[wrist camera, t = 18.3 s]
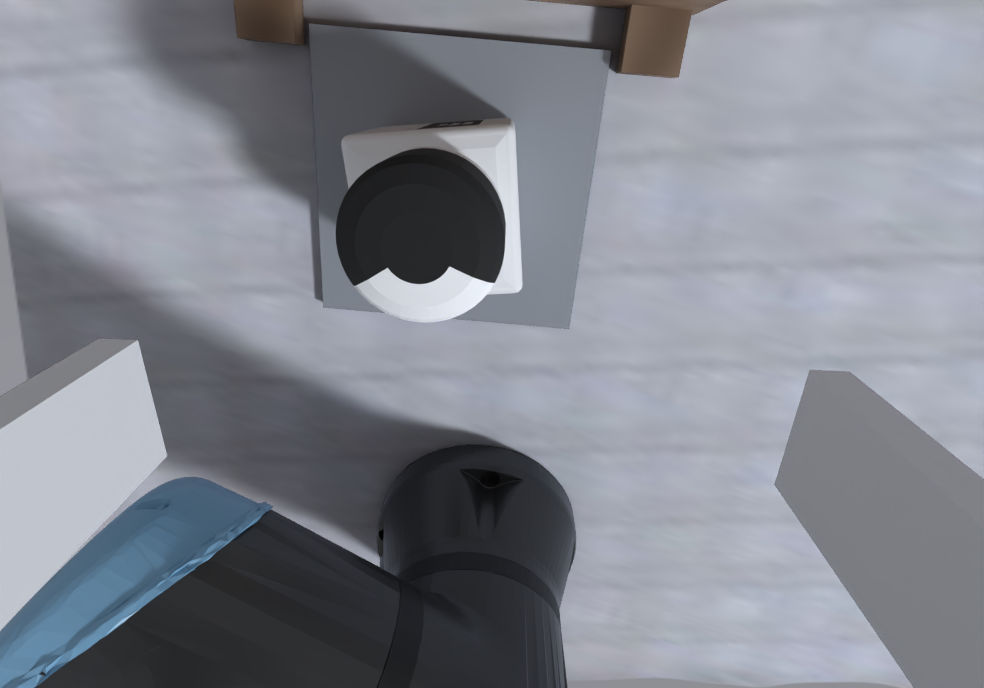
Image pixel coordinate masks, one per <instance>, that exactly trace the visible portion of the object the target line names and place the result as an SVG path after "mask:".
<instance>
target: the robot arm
mask: <svg viewBox="0 0 984 688" xmlns="http://www.w3.org/2000/svg"><path fill="white" fill-rule="evenodd" d="M166 457H167V453H166V449H165V445H164V441H163V437H162V433H161V429H160V425H159V421H158V417H157V414H156V410H155V406H154V402H153V398H152V394H151V390H150V386H149V382H148V378H147V374H146V370H145V366H144V362H143V358H142V354H141V350H140V346H139V343H138V340H125V339H103V338H99V339H97V340H96V341H94V342H92V343H90V344H89V345H87V346H85V347H84V348H82V349H80V350H78V351H77V352H75V353H73V354H72V355H70V356H68V357H66V358H65V359H63V360H61V361H60V362H58V363H56V364H54V365H53V366H51V367H49V368H48V369H46V370H44V371H42V372H41V373H39V374H37V375H36V376H34V377H32V378H30V379H29V380H27V381H25V382H24V383H22V384H20V385H19V386H17V387H15V388H13V389H12V390H10V391H8V392H7V393H5V394H3V395H1V396H0V630H1V629H2V628H3V627H4V626H5V625H6V626H5V627H4V628H3V629H2V630H1V631H0V688H567V679H566V670H565V661H564V651H563V642H562V634H561V624H560V612H559V609H560V605H561V601H562V597H563V593H564V589H565V585H566V581H567V577H568V573H569V571H570V568H571V566H572V563H573V560H574V556H575V550H576V531H575V523H574V516H573V511H572V507H571V503H570V501H569V498H568V496H567V494H566V492H565V491H564V489H563V487H562V486H561V485H560V483H559V482H558V481H557V480H556V479H555V477H554V476H553V475H552V474H551V473H550V472H548V471H547V470H546V469H545V468H543V467H542V466H541V465H539V464H538V463H536V462H534V461H533V460H531V459H529V458H527V457H525V456H523V455H521V454H518V453H515V452H513V451H509V450H506V449H502V448H497V447H491V446H481V445H466V446H457V447H451V448H446V449H443V450H439V451H436V452H433V453H431V454H428V455H426V456H424V457H422V458H420V459H418V460H417V461H415V462H414V463H412V464H411V465H410V466H408V467H407V468H406V469H405V470H404V471H402V472H401V473H400V475H399V476H398V477H397V478H396V479H395V480H394V482H393V483H392V485H391V487H390V488H389V490H388V492H387V495H386V497H385V500H384V504H383V507H382V510H381V513H380V517H379V521H378V527H377V546H378V552H379V556H380V567H378V566H376V565H374V564H372V563H371V562H369V561H367V560H365V559H363V558H361V557H359V556H357V555H356V554H354V553H352V552H350V551H348V550H346V549H344V548H342V547H341V546H339V545H337V544H335V543H333V542H331V541H329V540H327V539H325V538H324V537H322V536H320V535H318V534H316V533H314V532H312V531H310V530H309V529H307V528H305V527H303V526H301V525H299V524H297V523H295V522H294V521H292V520H290V519H288V518H286V517H284V516H282V515H280V514H279V513H277V512H275V511H273V510H271V509H272V507H273V506H271V505H269V504H267V503H266V502H263V503H257V502H255V501H252V500H250V499H248V498H246V497H244V496H242V495H239V494H237V493H235V492H233V491H231V490H229V489H226V488H224V487H222V486H220V485H218V484H216V483H214V482H211V481H209V480H206V479H203V478H198V477H184V478H179V479H174V480H171V481H168V482H166V483H164V484H162V485H160V486H158V487H157V488H155V489H153V490H151V491H150V492H148V493H147V494H145V495H144V496H143V497H141V498H140V499H139V500H137V501H136V502H135V503H133V504H132V505H131V506H130V507H128V508H127V509H126V510H125V511H123V512H122V513H121V514H120V515H119V516H118V517H116V518H115V519H114V520H113V521H112V522H111V523H110V524H108V525H107V526H106V527H105V528H104V529H103V530H102V531H101V532H99V533H98V534H97V535H96V536H95V537H94V538H93V539H92V540H91V541H89V542H88V543H87V544H86V545H85V546H84V547H83V548H82V549H81V550H80V551H79V552H78V553H77V554H76V555H75V556H74V557H73V558H72V559H71V560H70V561H68V562H67V563H66V564H65V565H64V566H63V567H62V568H61V569H60V570H59V571H58V572H57V570H58V569H59V568H60V567H61V566H62V565H63V564H64V563H65V562H66V561H67V560H68V559H69V558H70V557H71V556H72V555H73V554H74V553H75V552H76V551H77V550H78V549H79V548H80V546H81V545H82V544H83V543H84V542H85V541H86V540H87V539H88V538H89V537H90V536H91V535H92V534H93V533H94V532H95V531H96V530H97V529H98V528H99V527H100V526H101V525H102V524H103V523H104V521H105V520H106V519H107V518H108V517H109V516H110V515H111V514H112V513H113V512H114V511H115V510H116V509H117V508H118V507H119V506H120V505H121V504H122V503H123V502H124V501H125V500H126V499H127V497H128V496H129V495H130V494H131V493H132V492H133V491H134V490H135V489H136V488H137V487H138V486H139V485H140V484H141V483H142V482H143V481H144V480H145V479H146V478H147V477H148V476H149V475H150V473H151V472H152V471H153V470H154V469H155V468H156V467H157V466H158V465H159V464H160V463H161V462H162V461H163V460H164V459H165V458H166ZM774 485H775V486H776V488H777V489H778V490H779V492H780V493H781V495H782V496H783V498H784V499H785V501H786V502H787V504H788V505H789V507H790V508H791V509H792V511H793V512H794V514H795V515H796V517H797V518H798V520H799V521H800V523H801V524H802V525H803V527H804V528H805V530H806V531H807V533H808V534H809V536H810V537H811V539H812V540H813V541H814V543H815V544H816V546H817V547H818V549H819V550H820V552H821V553H822V555H823V556H824V558H825V559H826V560H827V562H828V563H829V565H830V566H831V568H832V569H833V571H834V572H835V574H836V575H837V576H838V578H839V579H840V581H841V582H842V584H843V585H844V587H845V588H846V590H847V591H848V592H849V594H850V595H851V597H852V598H853V600H854V601H855V603H856V604H857V606H858V607H859V609H860V610H861V611H862V613H863V614H864V616H865V617H866V619H867V620H868V622H869V623H870V625H871V626H872V627H873V629H874V630H875V632H876V633H877V635H878V636H879V638H880V639H881V641H882V642H883V643H884V645H885V646H886V648H887V649H888V651H889V652H890V654H891V655H892V657H893V658H894V659H895V661H896V662H897V664H898V665H899V667H900V668H901V670H902V671H903V673H904V674H905V676H906V677H907V678H908V680H909V681H910V683H911V684H912V686H913V687H914V688H984V479H983V478H982V477H980V476H979V475H978V474H977V473H975V472H974V471H973V470H972V469H970V468H969V467H968V466H967V465H965V464H964V463H963V462H962V461H960V460H959V459H958V458H957V457H955V456H954V455H953V454H952V453H950V452H949V451H948V450H947V449H945V448H944V447H943V446H942V445H940V444H939V443H938V442H937V441H935V440H934V439H933V438H932V437H930V436H929V435H928V434H927V433H925V432H924V431H923V430H922V429H920V428H919V427H918V426H917V425H915V424H914V423H913V422H912V421H910V420H909V419H908V418H907V417H906V416H904V415H903V414H902V413H901V412H899V411H898V410H897V409H896V408H894V407H893V406H892V405H891V404H889V403H888V402H887V401H886V400H884V399H883V398H882V397H881V396H879V395H878V394H877V393H876V392H874V391H873V390H872V389H871V388H869V387H868V386H867V385H866V384H864V383H863V382H862V381H861V380H859V379H858V378H857V377H856V376H854V375H853V374H852V373H851V372H846V371H823V370H810V371H809V374H808V377H807V381H806V384H805V387H804V390H803V394H802V397H801V400H800V403H799V407H798V410H797V413H796V416H795V420H794V423H793V426H792V429H791V432H790V436H789V439H788V442H787V445H786V449H785V452H784V455H783V458H782V462H781V465H780V468H779V471H778V475H777V478H776V481H775V484H774ZM56 572H57V573H56ZM55 573H56V574H55ZM54 574H55V575H54ZM53 575H54V576H53ZM52 576H53V577H52ZM51 577H52V578H51ZM50 578H51V579H50ZM49 579H50V580H49ZM48 580H49V581H48ZM47 581H48V582H47ZM46 582H47V583H46ZM45 583H46V584H45ZM44 584H45V585H44ZM43 585H44V586H43ZM42 586H43V587H42ZM41 587H42V588H41ZM40 588H41V589H40ZM39 589H40V590H39ZM38 590H39V591H38ZM37 591H38V592H37ZM36 592H37V593H36ZM35 593H36V594H35ZM34 594H35V595H34ZM33 595H34V596H33ZM21 608H22V609H21ZM20 609H21V610H20ZM19 610H20V611H19ZM18 611H19V612H18ZM17 612H18V613H17ZM16 613H17V614H16ZM15 614H16V615H15ZM14 615H15V616H14ZM13 616H14V617H13ZM12 617H13V618H12ZM11 618H12V619H11ZM10 619H11V620H10ZM8 622H9V623H8Z"/></svg>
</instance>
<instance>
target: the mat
mask: <svg viewBox="0 0 984 688" xmlns="http://www.w3.org/2000/svg"><path fill="white" fill-rule="evenodd" d="M309 39H310V59H311V78H312V98H313V117H314V137H315V156H316V175H317V195H318V214H319V234H320V253H321V272H322V292H323V307H324V308H335V309H347V310H358V311H370V312H381V313H385V312H383V311H381V310H379V309H378V308H377V307H375V306H374V305H372V304H371V303H369V302H368V301H367V300H366V299H365V298H364V297H363V296H362V295H361V294H360V293H359V292H358V291H357V290H356V288H355V287H354V286H353V285H352V283H351V282H350V280H349V278H348V277H347V275H346V273H345V271H344V269H343V267H342V264H341V261H340V258H339V255H338V251H337V245H336V221H337V216H338V212H339V208H340V206H341V203H342V201H343V198H344V196H345V195H346V193H347V191H348V190H349V188H348V182H347V176H346V171H345V165H344V159H343V153H342V147H341V142H342V139H343V138H344V136H347V135H350V134H354V133H358V132H363V131H367V130H371V129H375V128H379V127H385V126H399V125H412V124H426V123H440V122H454V121H468V120H482V119H495V118H511V119H512V120H513V121H514V124H515V133H516V154H517V176H518V197H519V218H520V240H521V261H522V282H523V285H522V289H521V290H520V291H519V292H517V293H508V294H489V295H486V296H485V297H484V298H483V299H482V300H481V301H480V302H479V303H478V304H477V305H475V306H474V307H473V308H471V309H470V310H468V311H467V312H465V313H463V314H461V315H459V316H456V317H454V318H451V319H461V320H472V321H483V322H495V323H506V324H518V325H529V326H540V327H552V328H563V329H569V326H570V319H571V313H572V306H573V300H574V293H575V287H576V280H577V273H578V267H579V260H580V254H581V247H582V240H583V234H584V227H585V221H586V214H587V208H588V201H589V194H590V188H591V181H592V175H593V168H594V162H595V155H596V148H597V142H598V135H599V129H600V122H601V115H602V109H603V102H604V96H605V89H606V83H607V76H608V69H609V63H610V56H611V51H610V50H599V49H588V48H577V47H565V46H554V45H543V44H532V43H521V42H509V41H498V40H487V39H476V38H465V37H454V36H442V35H431V34H420V33H409V32H398V31H386V30H375V29H364V28H353V27H342V26H330V25H319V24H309Z"/></svg>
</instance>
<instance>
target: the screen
mask: <svg viewBox="0 0 984 688" xmlns="http://www.w3.org/2000/svg"><path fill="white" fill-rule="evenodd" d="M530 1H541V2H552V3H564V4H575V5H586V6H597V7H608V8H619V9H626V14H625V21H624V27H623V33H622V40H621V46H620V52H619V59H618V65H617V71H616V73H621V74H632V75H644V76H655V77H666V78H675V77H679V73H680V68H681V63H682V58H683V53H684V48H685V43H686V38H687V33H688V28H689V23H690V18H691V15H694V14H697V13H699V12H701V11H703V10H706V9H708V8H710V7H712V6H715V5H717V4H719V3H721V2H724V1H726V0H530ZM234 9H235V19H236V29H237V38H241V39H246V40H251V41H262V42H274V43H285V44H296V45H305V35H304V17H303V0H234Z"/></svg>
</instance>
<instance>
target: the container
mask: <svg viewBox="0 0 984 688" xmlns="http://www.w3.org/2000/svg"><path fill="white" fill-rule="evenodd" d="M341 147H342V153H343V159H344V165H345V171H346V176H347V182H348V188H349V190H348V191H347V193H346V195H345V196H344V198H343V201H342V203H341V206H340V208H339V212H338V216H337V221H336V245H337V251H338V255H339V258H340V261H341V264H342V267H343V269H344V271H345V273H346V275H347V277H348V278H349V280H350V282H351V283H352V285H353V286H354V287H355V288H356V290H357V291H358V292H359V293H360V294H361V295H362V296H363V297H364V298H365V299H366V300H367V301H368V302H369V303H371V304H372V305H374V306H375V307H377V308H378V309H379V310H381V311H383V312H385V313H387V314H389V315H391V316H394V317H397V318H399V319H403V320H407V321H413V322H438V321H444V320H448V319H451V318H454V317H456V316H459V315H461V314H463V313H465V312H467V311H468V310H470V309H471V308H473V307H474V306H475V305H477V304H478V303H479V302H480V301H481V300H482V299H483V298H484V297H485V296H486V295H489V294H508V293H517V292H519V291H520V290H521V289H522V285H523V282H522V261H521V240H520V218H519V197H518V176H517V154H516V133H515V124H514V121H513V120H512V119H511V118H495V119H482V120H468V121H454V122H440V123H426V124H412V125H399V126H385V127H379V128H375V129H371V130H367V131H363V132H358V133H354V134H350V135H347V136H344V138H343V139H342V142H341Z"/></svg>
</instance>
